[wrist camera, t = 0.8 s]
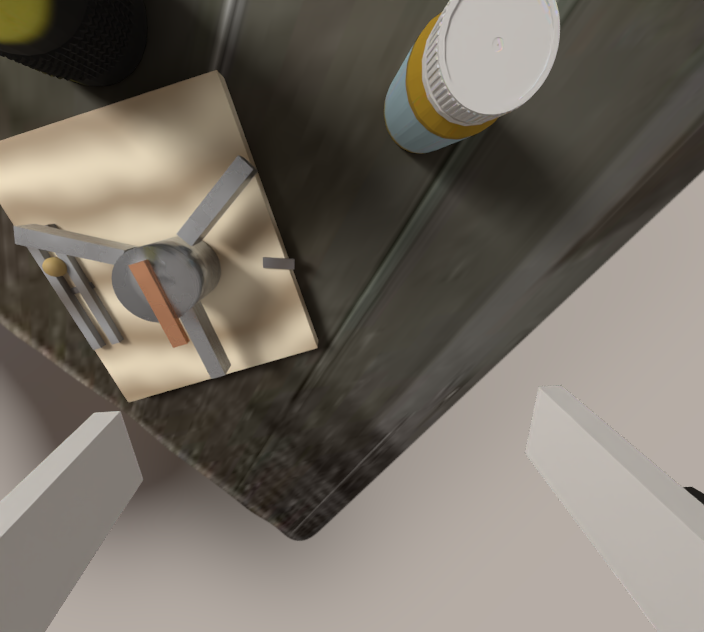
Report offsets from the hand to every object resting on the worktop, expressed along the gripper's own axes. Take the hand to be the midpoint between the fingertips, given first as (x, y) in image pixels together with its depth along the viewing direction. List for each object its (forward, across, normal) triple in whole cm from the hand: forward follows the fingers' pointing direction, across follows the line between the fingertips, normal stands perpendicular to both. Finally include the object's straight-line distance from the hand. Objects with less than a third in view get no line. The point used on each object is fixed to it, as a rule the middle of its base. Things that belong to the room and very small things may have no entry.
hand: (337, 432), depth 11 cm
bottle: (+26, +9, +14) cm, 31 cm away
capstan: (+23, -13, -1) cm, 27 cm away
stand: (+26, -16, +1) cm, 30 cm away
